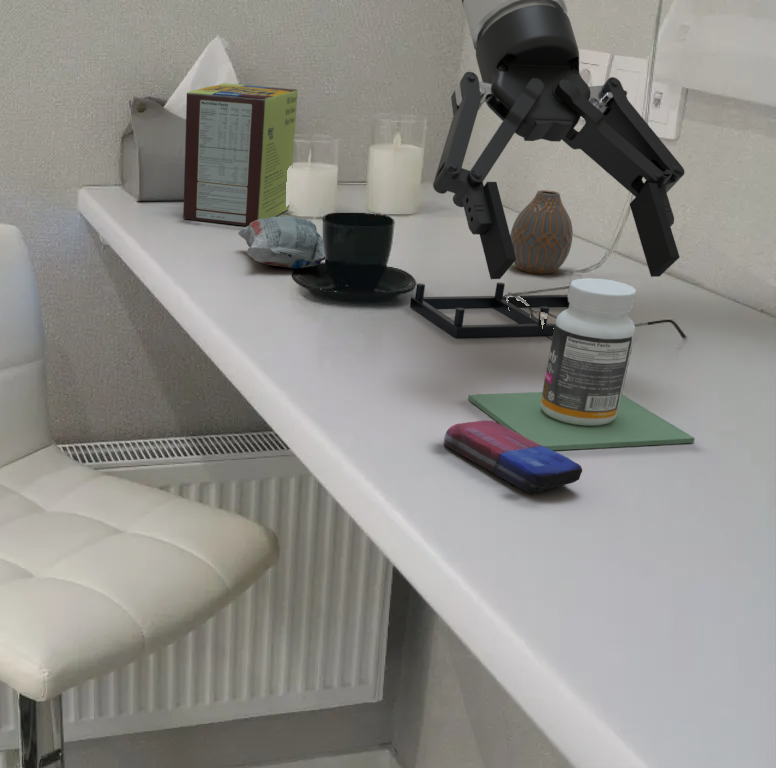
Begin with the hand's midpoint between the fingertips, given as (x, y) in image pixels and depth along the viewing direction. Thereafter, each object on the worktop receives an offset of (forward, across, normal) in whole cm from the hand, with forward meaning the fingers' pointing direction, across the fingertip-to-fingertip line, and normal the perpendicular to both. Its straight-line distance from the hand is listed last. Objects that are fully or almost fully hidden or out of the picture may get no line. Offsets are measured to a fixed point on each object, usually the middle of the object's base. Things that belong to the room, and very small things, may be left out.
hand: (586, 268), depth 86 cm
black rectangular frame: (-9, -9, -25) cm, 28 cm away
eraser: (+15, +10, 0) cm, 19 cm away
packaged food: (-26, +8, -42) cm, 50 cm away
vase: (-23, -22, -39) cm, 50 cm away
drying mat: (+10, 0, -6) cm, 11 cm away
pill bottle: (+10, 0, -6) cm, 11 cm away
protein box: (-46, +5, -62) cm, 77 cm away
